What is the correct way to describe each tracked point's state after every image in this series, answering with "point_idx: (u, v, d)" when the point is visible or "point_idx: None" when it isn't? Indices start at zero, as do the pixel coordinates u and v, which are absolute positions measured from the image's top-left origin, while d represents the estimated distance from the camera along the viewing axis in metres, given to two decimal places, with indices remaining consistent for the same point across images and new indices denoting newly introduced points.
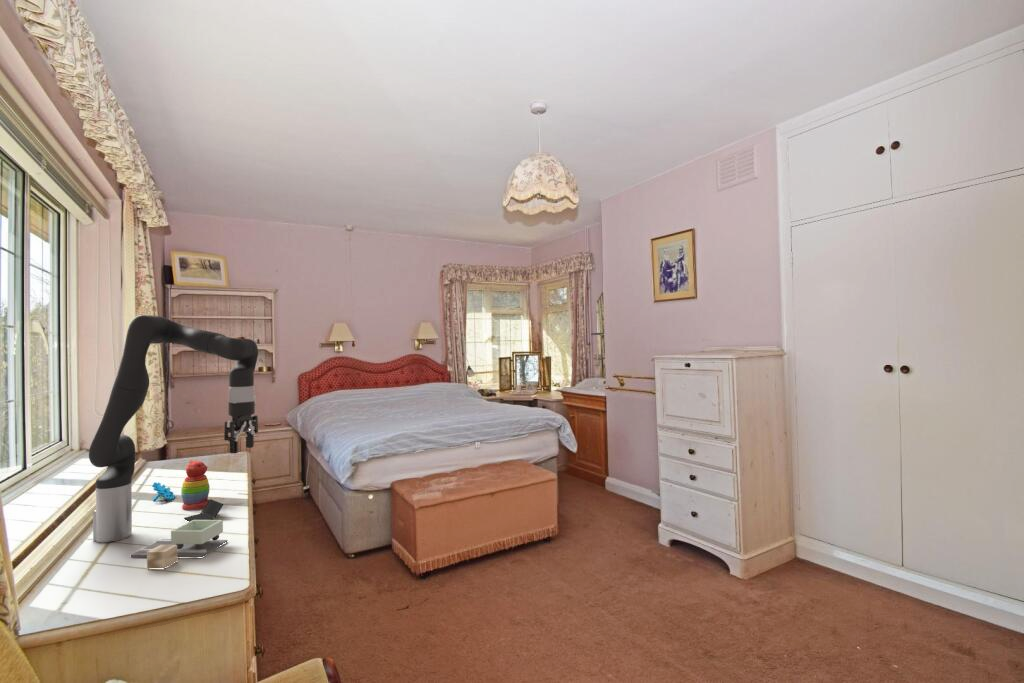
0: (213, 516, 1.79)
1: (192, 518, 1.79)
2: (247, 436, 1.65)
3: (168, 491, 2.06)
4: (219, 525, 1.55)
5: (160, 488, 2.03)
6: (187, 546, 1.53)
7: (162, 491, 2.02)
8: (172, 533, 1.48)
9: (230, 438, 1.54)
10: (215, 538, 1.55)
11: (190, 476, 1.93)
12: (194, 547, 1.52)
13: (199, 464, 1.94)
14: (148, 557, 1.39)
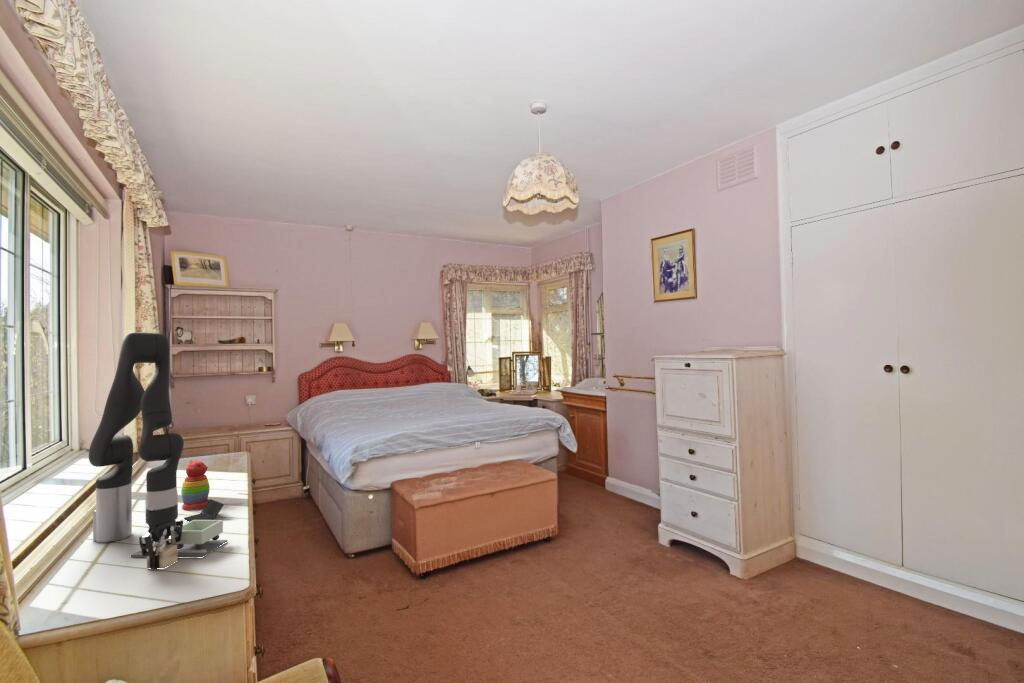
0: (213, 516, 1.79)
1: (192, 518, 1.79)
2: None
3: None
4: (219, 525, 1.55)
5: None
6: (187, 546, 1.53)
7: None
8: None
9: (149, 554, 1.36)
10: (215, 538, 1.55)
11: (190, 476, 1.93)
12: (194, 547, 1.52)
13: (199, 464, 1.94)
14: (148, 557, 1.39)
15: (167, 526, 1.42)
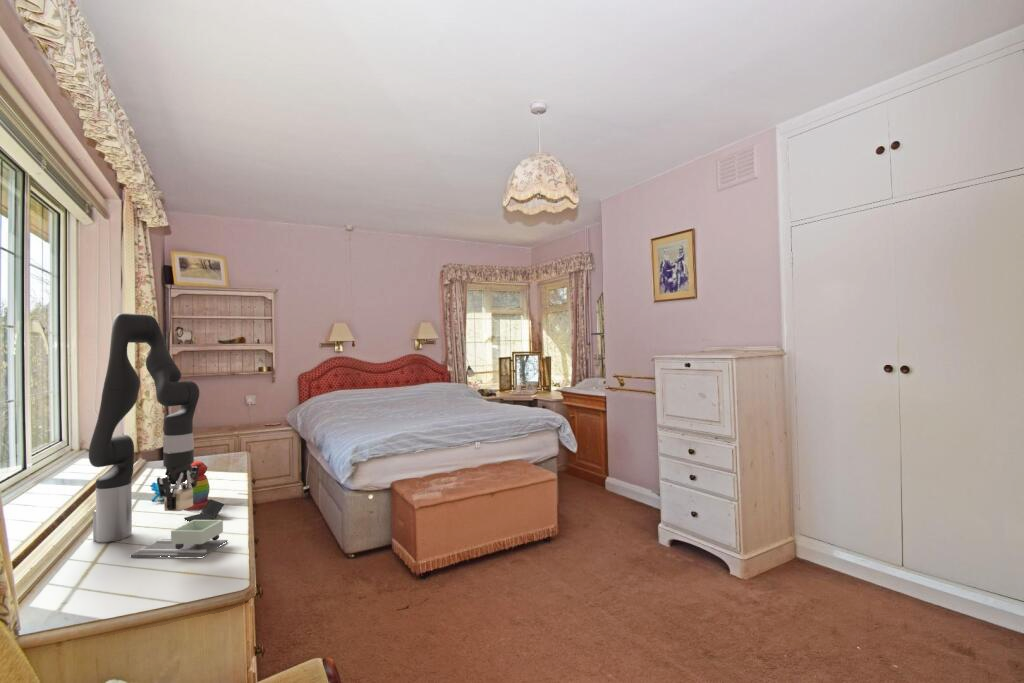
0: (214, 516, 1.79)
1: (192, 518, 1.79)
2: None
3: None
4: (219, 525, 1.55)
5: (158, 488, 2.03)
6: (187, 546, 1.53)
7: None
8: (172, 533, 1.48)
9: (166, 494, 1.41)
10: (215, 538, 1.55)
11: None
12: (194, 547, 1.52)
13: (199, 464, 1.94)
14: (165, 498, 1.45)
15: (183, 470, 1.48)
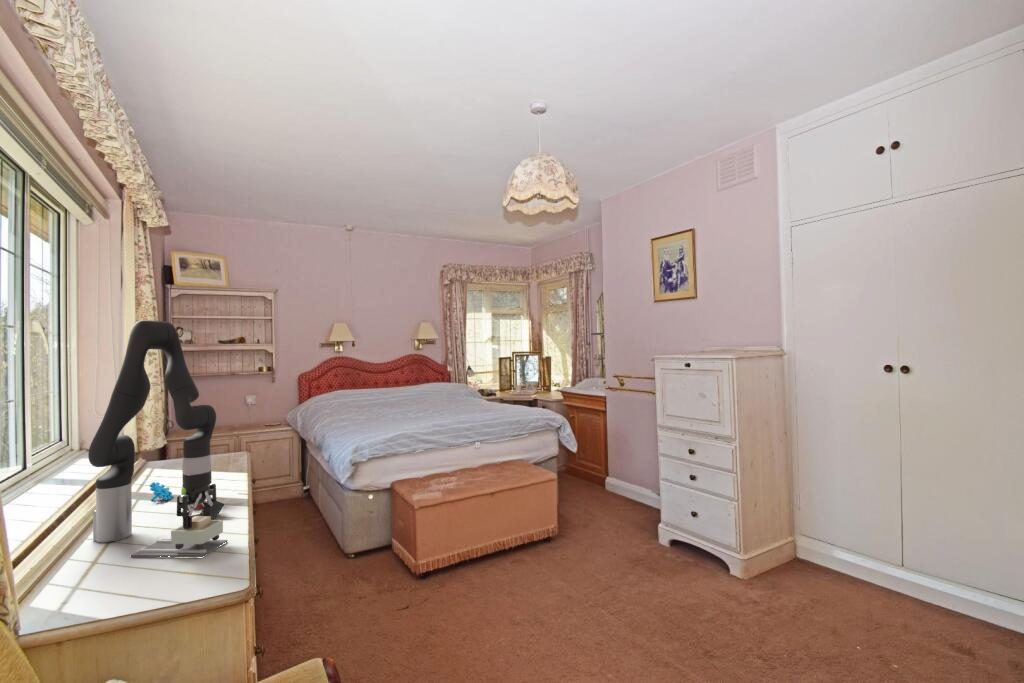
0: (214, 516, 1.79)
1: None
2: (204, 506, 1.57)
3: (166, 491, 2.06)
4: (219, 525, 1.55)
5: (158, 488, 2.03)
6: (187, 546, 1.53)
7: (159, 491, 2.02)
8: (172, 533, 1.48)
9: (183, 514, 1.46)
10: (215, 538, 1.55)
11: None
12: (194, 547, 1.52)
13: None
14: None
15: (202, 491, 1.53)
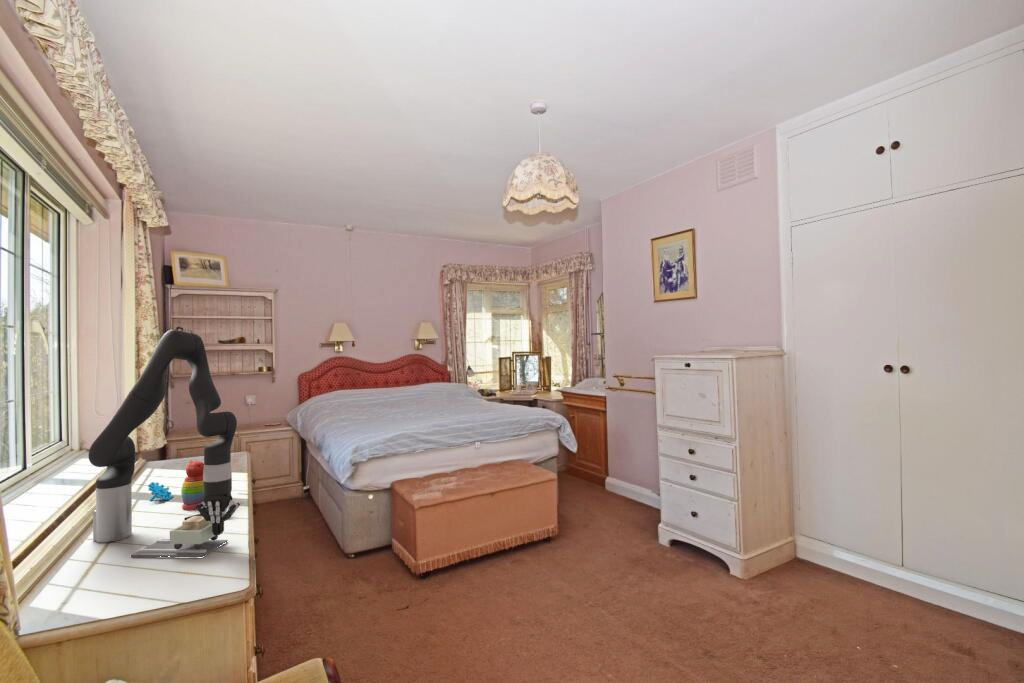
0: None
1: None
2: None
3: (165, 491, 2.06)
4: None
5: (156, 488, 2.03)
6: (187, 546, 1.53)
7: (157, 491, 2.02)
8: (171, 533, 1.48)
9: None
10: (214, 538, 1.55)
11: (190, 476, 1.93)
12: (194, 547, 1.52)
13: (199, 464, 1.94)
14: (183, 526, 1.50)
15: (217, 500, 1.51)
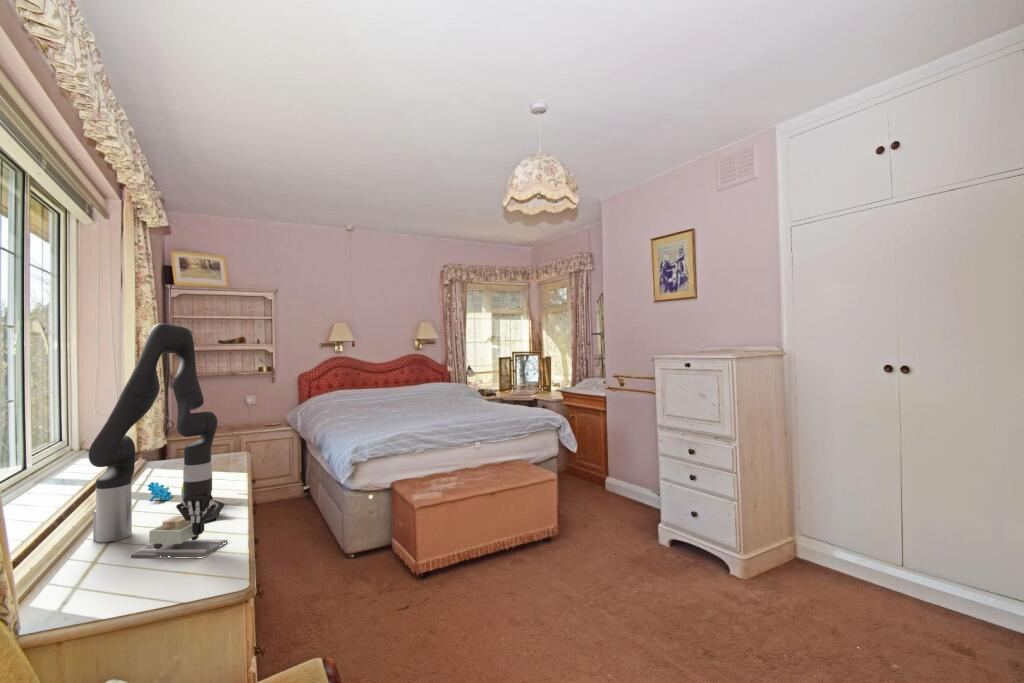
0: (215, 516, 1.80)
1: None
2: None
3: (165, 491, 2.06)
4: None
5: (156, 488, 2.03)
6: (187, 546, 1.53)
7: (157, 491, 2.02)
8: (151, 533, 1.48)
9: None
10: (194, 538, 1.56)
11: None
12: (194, 547, 1.52)
13: None
14: (163, 526, 1.51)
15: (197, 499, 1.51)
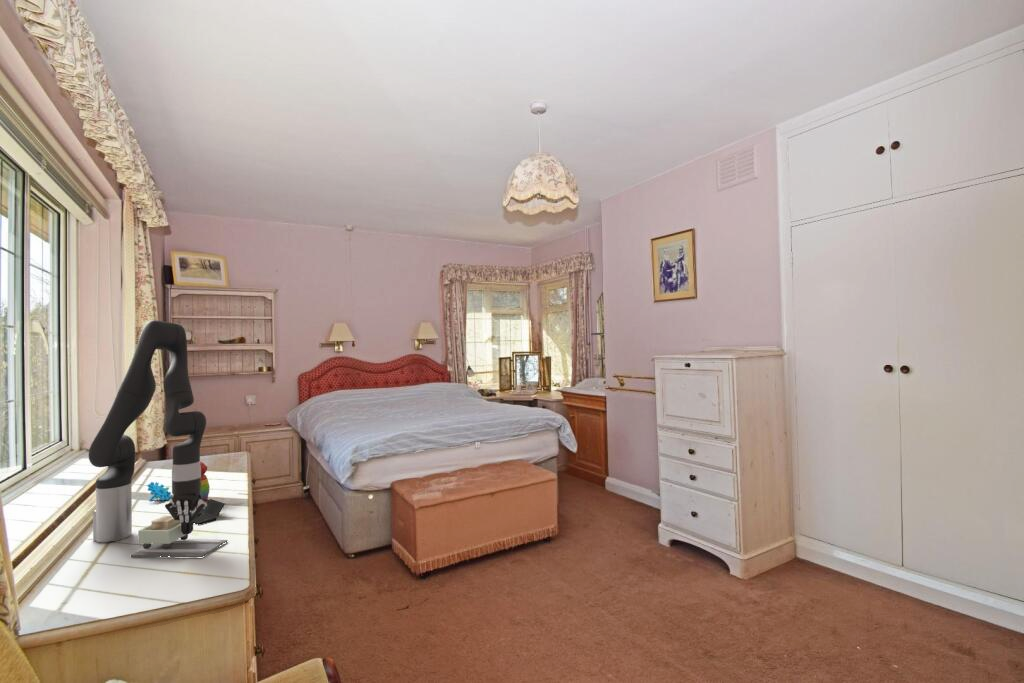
0: (215, 515, 1.80)
1: None
2: None
3: (165, 491, 2.06)
4: None
5: (155, 488, 2.03)
6: (187, 546, 1.53)
7: (156, 491, 2.02)
8: (139, 533, 1.49)
9: None
10: (184, 538, 1.56)
11: None
12: (194, 547, 1.52)
13: None
14: (152, 526, 1.51)
15: (186, 499, 1.52)
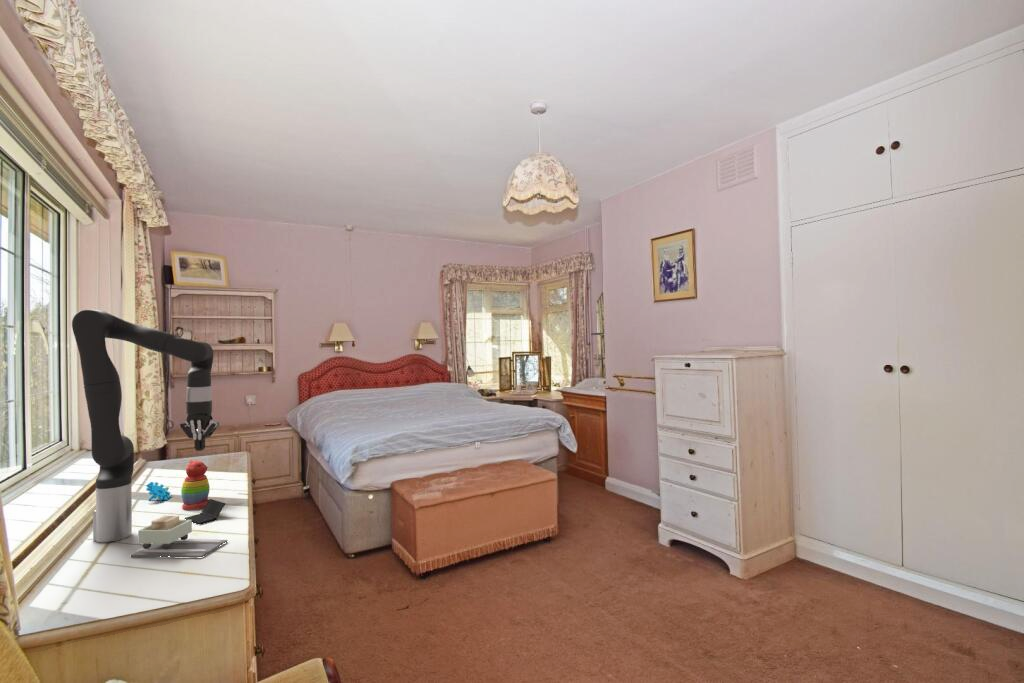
0: (215, 515, 1.80)
1: (193, 518, 1.79)
2: None
3: (164, 491, 2.06)
4: (188, 525, 1.56)
5: (154, 488, 2.03)
6: (187, 546, 1.53)
7: (155, 491, 2.02)
8: (139, 533, 1.49)
9: None
10: (184, 538, 1.56)
11: (190, 476, 1.93)
12: (194, 547, 1.52)
13: (199, 464, 1.94)
14: (152, 526, 1.51)
15: (198, 419, 1.69)
